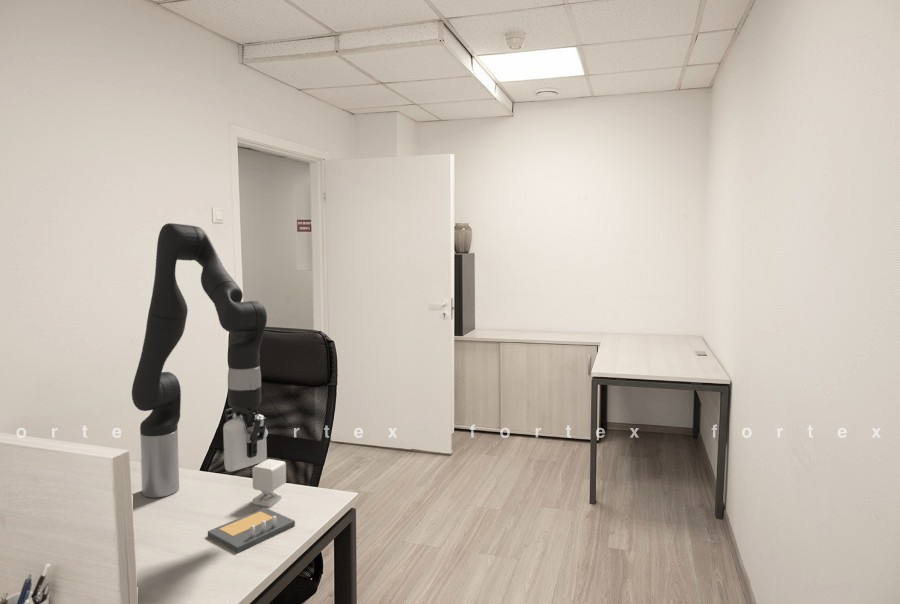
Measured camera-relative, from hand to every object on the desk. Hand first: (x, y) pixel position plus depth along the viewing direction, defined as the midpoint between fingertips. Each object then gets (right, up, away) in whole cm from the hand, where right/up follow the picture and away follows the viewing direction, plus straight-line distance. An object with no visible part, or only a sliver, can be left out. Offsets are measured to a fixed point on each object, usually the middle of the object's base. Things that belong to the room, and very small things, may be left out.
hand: (245, 454), depth 140 cm
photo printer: (0, -3, 0) cm, 3 cm away
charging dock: (+1, -19, +1) cm, 19 cm away
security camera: (0, -17, +18) cm, 25 cm away
